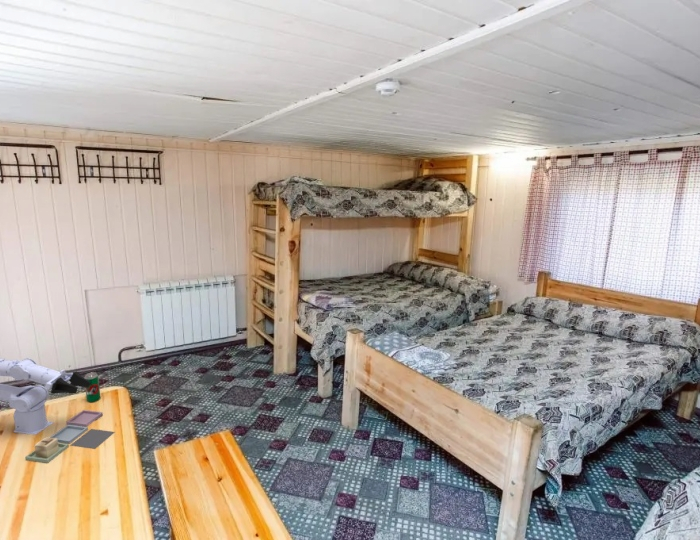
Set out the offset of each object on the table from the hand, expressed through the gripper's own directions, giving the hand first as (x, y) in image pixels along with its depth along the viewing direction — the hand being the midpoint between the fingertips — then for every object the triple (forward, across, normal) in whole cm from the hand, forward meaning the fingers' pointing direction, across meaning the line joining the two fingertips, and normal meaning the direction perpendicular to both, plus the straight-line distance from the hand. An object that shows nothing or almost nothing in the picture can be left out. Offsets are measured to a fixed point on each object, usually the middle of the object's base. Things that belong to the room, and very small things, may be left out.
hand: (83, 387), depth 147 cm
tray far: (0, +11, +17) cm, 20 cm away
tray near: (0, -9, +22) cm, 23 cm away
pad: (+10, -1, +17) cm, 20 cm away
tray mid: (+1, +1, +19) cm, 19 cm away
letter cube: (0, -9, +21) cm, 23 cm away
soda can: (-6, +26, +15) cm, 30 cm away
